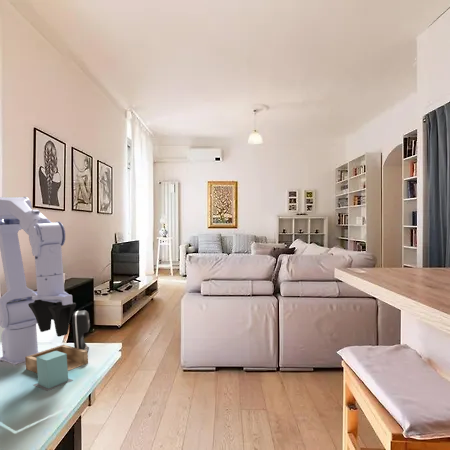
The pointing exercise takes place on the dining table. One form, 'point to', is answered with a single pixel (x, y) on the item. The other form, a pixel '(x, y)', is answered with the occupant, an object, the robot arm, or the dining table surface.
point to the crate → (73, 354)
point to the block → (52, 369)
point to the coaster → (51, 387)
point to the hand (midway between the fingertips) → (53, 332)
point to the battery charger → (80, 328)
